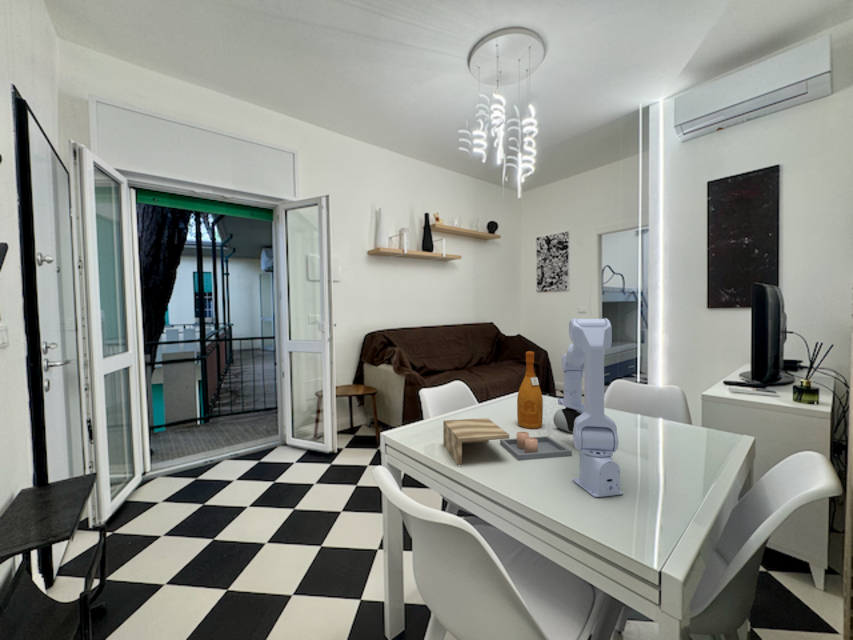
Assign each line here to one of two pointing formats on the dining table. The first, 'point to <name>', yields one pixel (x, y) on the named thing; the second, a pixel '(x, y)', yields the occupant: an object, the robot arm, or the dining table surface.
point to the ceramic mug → (560, 420)
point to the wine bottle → (530, 398)
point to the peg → (521, 439)
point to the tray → (545, 449)
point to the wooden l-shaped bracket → (469, 434)
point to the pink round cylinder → (531, 445)
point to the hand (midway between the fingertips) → (572, 430)
